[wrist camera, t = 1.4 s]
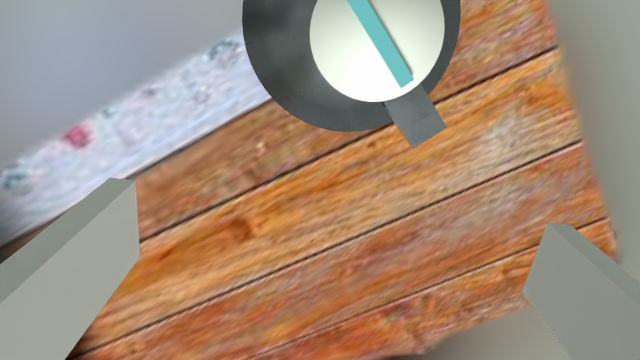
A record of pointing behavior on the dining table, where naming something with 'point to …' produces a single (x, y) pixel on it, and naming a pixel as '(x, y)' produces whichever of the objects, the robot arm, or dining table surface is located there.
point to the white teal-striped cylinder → (376, 45)
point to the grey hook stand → (316, 92)
